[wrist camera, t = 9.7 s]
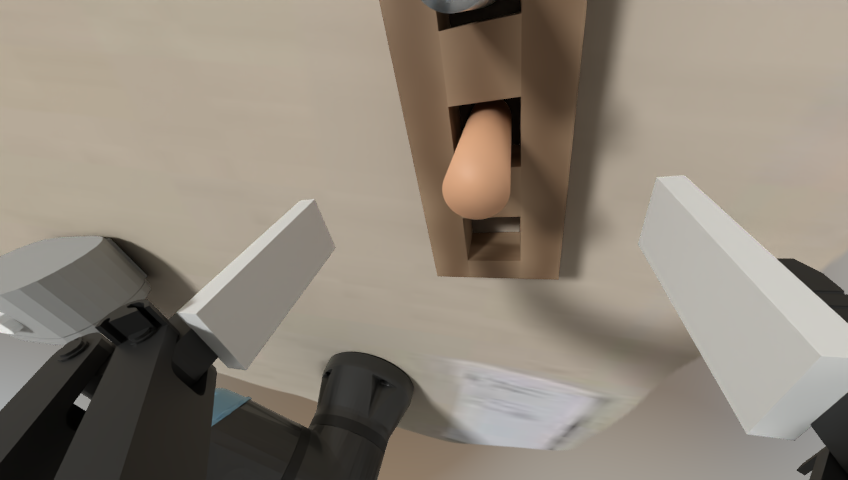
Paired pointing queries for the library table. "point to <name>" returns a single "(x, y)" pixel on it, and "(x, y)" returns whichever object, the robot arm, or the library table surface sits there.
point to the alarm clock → (65, 287)
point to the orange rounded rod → (481, 163)
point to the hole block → (479, 82)
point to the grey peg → (456, 5)
